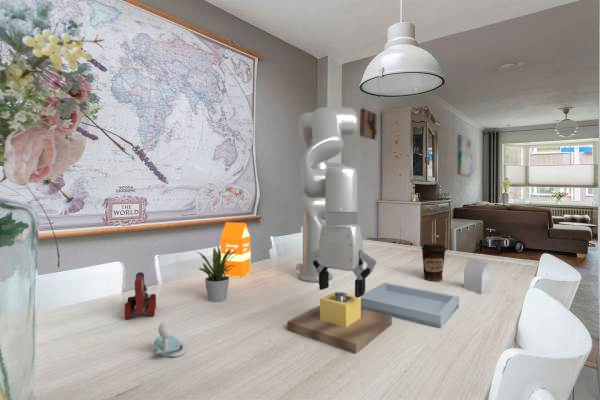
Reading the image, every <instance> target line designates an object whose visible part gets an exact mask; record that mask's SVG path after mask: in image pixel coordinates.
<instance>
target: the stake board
mask: <svg viewBox="0 0 600 400" xmlns="http://www.w3.org/2000/svg"><path fill="white" fill-rule="evenodd" d="M392 320H393V317H392V316H388V315H384V314H380V313H376V312H372V311H368V310H364V309H361V318H360V319H358V320H357V321H355V322H354V323H352V324H351V325H349V326H348V327H342V326H339V325H336V324H332V323H329V322H326V321H322V320H320V305H318V306H316V307H313V308H311V309H310V310H308V311H305V312H304V313H301V314H299V315H298V316H297V315H296V316H295V317H294V318H291V319H289V320H287V321H286V330H287V331H290V332H292V333H295V334H298V335H301V336H304V337H306V338H309V339H311V340H316V341H319V342H320V343H324V344H327V345H329V346H333V347H335V348H338V349H341V350H344V351H347V352H349V353H353V354H357V353H359V352H360V351H361V350H362V349H364V348H365V347H366V346H367V345H369V344H370V343H371V342H372V341H374V340H375V339H376V338H377V337H378V336H379V335H381V334H383V332H384V331H387V329H388V328H389V327H391V326H392V324H393V323H392V322H393V321H392Z"/></svg>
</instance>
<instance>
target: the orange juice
mask: <svg viewBox="0 0 600 400" xmlns="http://www.w3.org/2000/svg"><path fill="white" fill-rule="evenodd" d="M224 224H225V225H224V227H223V229H222V230H223V231H222V233H221V237H220V251H221V256H222V255H223V256H222V257H221V262H222V259H223V257H224V255H225V254H226V252H227V251H228V250H229V249H231V248H232V249H231V250H230V251H231V252H230V253H229V254H231V253H232V252H234V251H236V250H238V251H236V252H234V253H233V254H232V255H231V256H230V257H229V258H228V256H229V255H228V256H227V258H228V259H227V258H226V259H227V261H226V260H225V261H226V262H225V264H227V263H228V264H227V265H226V267H227V266H229V265H235V266H234V267H233V266H230V267H228V268H227V269H229V270H228V271H227V272H228V273H227V274H226V272H225V271H224V273H225V274H226V275H230V276H240V277H242V276H244V275H246V274H247V273H249V272H250V273H251V234H250V232H249V229H248V226H247V223H246V222H228V221H227V222H225V223H224ZM240 249H243V250H240ZM235 255H238V256H235ZM233 256H234V257H233ZM232 257H233V258H232ZM231 258H232V259H231ZM230 259H231V260H230ZM229 260H230V261H229ZM228 261H229V262H228ZM225 264H224V265H225ZM236 264H237V265H236ZM236 266H237V267H236ZM226 267H224V268H226ZM232 267H233V268H232ZM230 268H232V269H230ZM250 273H249V274H250ZM225 274H224V275H225ZM247 275H248V274H247ZM247 275H246V276H247ZM244 277H245V276H244ZM242 278H243V277H242Z"/></svg>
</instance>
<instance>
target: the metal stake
mask: <svg viewBox="0 0 600 400" xmlns="http://www.w3.org/2000/svg"><path fill="white" fill-rule="evenodd" d="M336 292H337V293H335V301H339V302H343V303H345V302H346V294H347V293H345V292H344V291H343V292H342V291H340V292H339V291H336Z"/></svg>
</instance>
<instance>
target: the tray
mask: <svg viewBox="0 0 600 400" xmlns="http://www.w3.org/2000/svg"><path fill="white" fill-rule="evenodd" d="M459 306H460V296H459V295H453V294H449V293H448V294H447V293H442V292H437V291H432V290H426V289H421V288H415V287H410V286H405V285H400V284H399V285H398V284H394V283H390V282H389V283H388V282H382V283H381V284H380V285H378V286H375V287H373V288H372V289H370V290H367V291H365V293H364V295H362V296H361V309H364V310H368V311H372V312H376V313H380V314H384V315H388V316H392V318H397V319H400V320H401V319H402V320H405V321H410V322H412V323H418V324H421V325H426V326H429V327H433V328H437V329H442V328H443V327H444V326H445V324H446V323H447V322H448V321H449V320H450V319H451V317H452V316H453V314H455V312H456V311H457V310H458V309H459V308H460V307H459Z"/></svg>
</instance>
